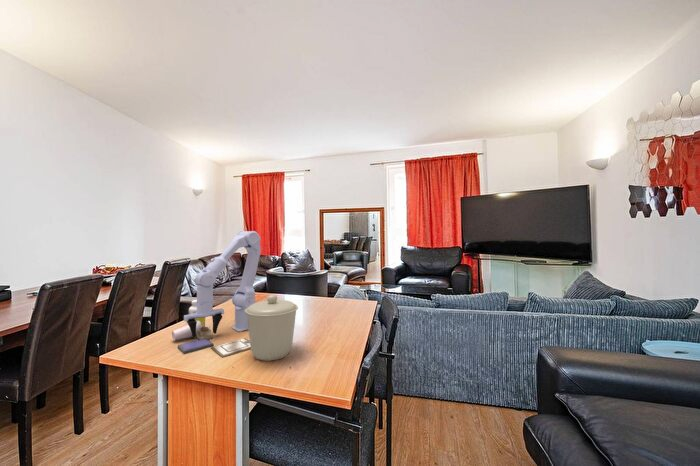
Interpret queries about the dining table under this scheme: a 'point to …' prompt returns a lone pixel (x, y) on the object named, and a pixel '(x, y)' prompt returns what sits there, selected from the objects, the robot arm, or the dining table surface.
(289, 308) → the canister
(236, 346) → the clipboard
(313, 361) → the dining table surface
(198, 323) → the smoothie
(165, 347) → the dining table surface
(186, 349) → the ink tray
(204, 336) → the stamp
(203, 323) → the supplement bottle
